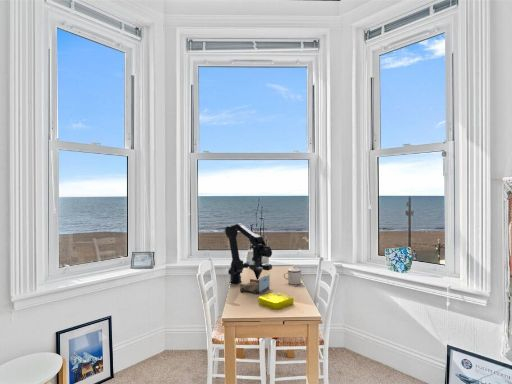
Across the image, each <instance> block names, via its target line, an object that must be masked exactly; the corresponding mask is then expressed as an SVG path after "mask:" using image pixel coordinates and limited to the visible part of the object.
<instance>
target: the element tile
mask: <svg viewBox="0 0 512 384" xmlns="http://www.w3.org/2000/svg"><path fill="white" fill-rule="evenodd" d="M258 305H259V306H262V307H264V308H268V309H270V310H273V311H279V310H283V309H286V308H287V307H291V306H293V305H294V296H292V295H288V294H287V293H286V294H285V293H282V292H280V291H273V292H269V293H267V294H262V295H259V296H258Z"/></svg>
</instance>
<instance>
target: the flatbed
mask: <svg viewBox="0 0 512 384" xmlns="http://www.w3.org/2000/svg"><path fill="white" fill-rule="evenodd" d="M250 282H257V283H259V279H256V278H255V279H253V278H249V282H248V283H244V284H243V283H239V290H240V291H239V292H241V293H243V292H245V291H247V292H252V294H253V295H256V294H257V293H259V294H258V295H261V294H263V293H265V292H266V291H268V290H269V289H270V286H269V287H267V288H265V289H264V290H262V291H261V292H259V286H252V285H249V283H250Z"/></svg>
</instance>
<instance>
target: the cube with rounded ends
mask: <svg viewBox="0 0 512 384" xmlns="http://www.w3.org/2000/svg"><path fill="white" fill-rule="evenodd" d="M249 282H250V281H249ZM249 282H248V283H249ZM249 285H252V286H259V283H257V282H250V283H249Z"/></svg>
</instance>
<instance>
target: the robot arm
mask: <svg viewBox="0 0 512 384" xmlns="http://www.w3.org/2000/svg"><path fill="white" fill-rule="evenodd" d="M224 232H225V235H226V237H227V239H228V242H229V246H230V252H231V253H230V254H231V258H232V259H231V262H230V268H229V269H228V275H230V281H229V284H234V285H238V284H241V283H242V275H241V274H242V273H243V270H244V269H248V268H249V269H250V270H251V271H252V272H253V273H254V275H255V279H256V280H259V279H260V276H261V274H262V272H263V271H270V270H272V269H273V265H272V264H270V263H266V264H264V263H263V258H264V257H265V258H271V257H272V255H273V250H272V249H271V247H270V245H268V246H267V244H266V242H265V240H264V237H263V236H262V235H260V234H258V233H254V232H253V231H252V230H251V229H249V228H247V227H246V226H245V225H244V224H243V223H236V224H234V225H233V224H232V225H227V226H226V227H225V229H224ZM238 232H240V233H241V234H242V235H243V236H245V237H246V238H247V239H248V241H249V242H250V243H251V246H249V247H250V249H252V258H251V260H250V261H246V262H244V261H243V260H241V259H240V253H239V247H238V242H237V236H238Z"/></svg>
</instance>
